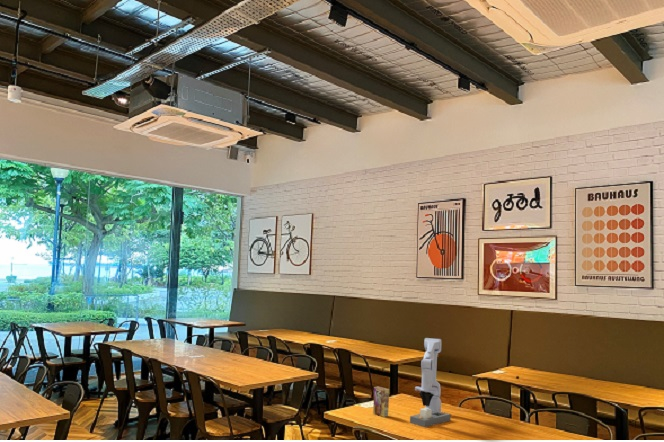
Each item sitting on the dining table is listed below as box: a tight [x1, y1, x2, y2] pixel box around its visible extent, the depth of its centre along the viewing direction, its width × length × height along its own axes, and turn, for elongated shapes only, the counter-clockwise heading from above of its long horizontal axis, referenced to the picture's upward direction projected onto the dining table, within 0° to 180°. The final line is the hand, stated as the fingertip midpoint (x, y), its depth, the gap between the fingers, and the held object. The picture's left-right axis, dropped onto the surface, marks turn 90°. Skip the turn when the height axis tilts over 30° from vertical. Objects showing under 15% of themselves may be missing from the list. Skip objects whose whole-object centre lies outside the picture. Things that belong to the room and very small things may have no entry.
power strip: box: [409, 410, 452, 428], centre depth 290 cm, size 24×10×4 cm, turn 132°
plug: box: [419, 407, 432, 419], centre depth 286 cm, size 5×4×7 cm
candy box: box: [372, 386, 390, 418], centre depth 300 cm, size 9×4×15 cm, turn 39°
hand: (426, 406), depth 287 cm, fingers closed
